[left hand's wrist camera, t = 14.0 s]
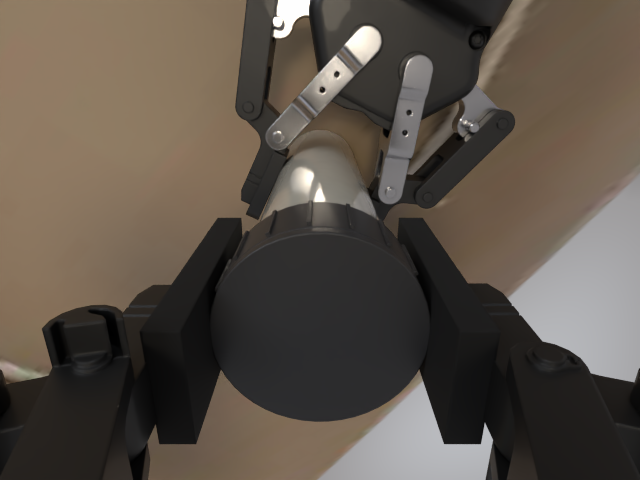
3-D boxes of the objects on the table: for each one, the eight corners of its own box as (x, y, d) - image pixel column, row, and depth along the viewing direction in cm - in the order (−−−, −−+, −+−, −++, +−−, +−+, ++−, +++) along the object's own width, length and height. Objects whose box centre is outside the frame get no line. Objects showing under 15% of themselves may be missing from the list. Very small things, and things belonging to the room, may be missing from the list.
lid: (314, 395, 14) (313, 457, 11) (186, 283, 12) (158, 330, 10) (451, 295, 12) (479, 343, 10) (325, 156, 11) (327, 179, 9)
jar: (301, 208, 29) (273, 418, 12) (274, 145, 28) (193, 278, 10) (364, 183, 29) (435, 367, 11) (339, 118, 27) (377, 209, 9)
